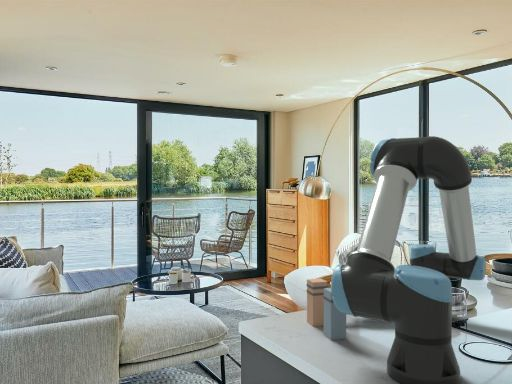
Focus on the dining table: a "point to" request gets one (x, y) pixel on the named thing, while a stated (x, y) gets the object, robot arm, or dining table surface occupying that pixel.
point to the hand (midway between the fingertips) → (329, 300)
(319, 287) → the post
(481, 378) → the dining table surface
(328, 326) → the post
